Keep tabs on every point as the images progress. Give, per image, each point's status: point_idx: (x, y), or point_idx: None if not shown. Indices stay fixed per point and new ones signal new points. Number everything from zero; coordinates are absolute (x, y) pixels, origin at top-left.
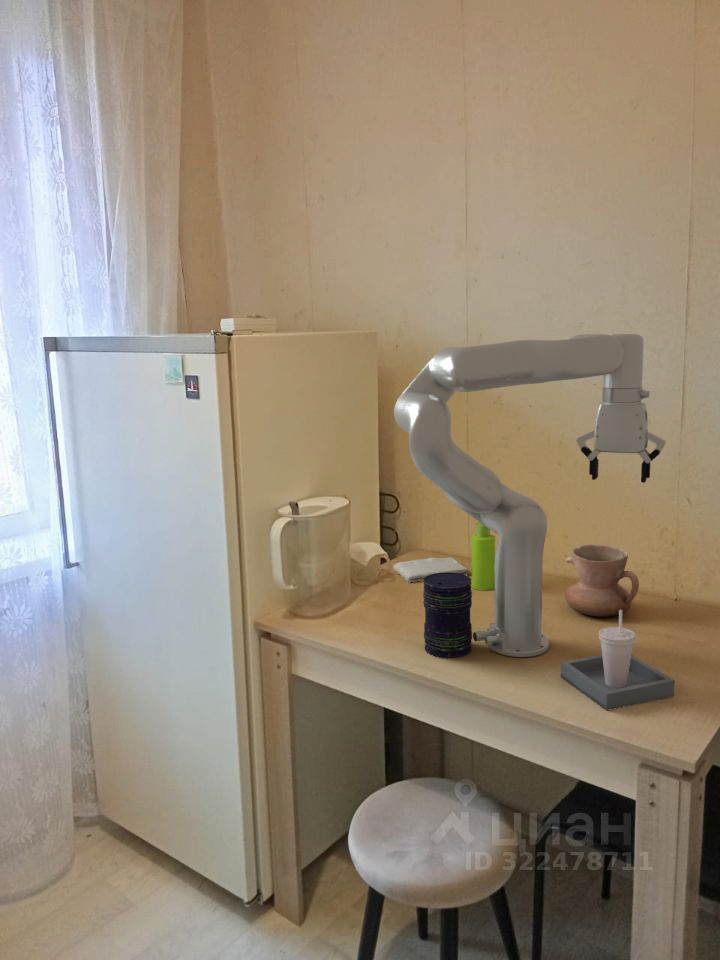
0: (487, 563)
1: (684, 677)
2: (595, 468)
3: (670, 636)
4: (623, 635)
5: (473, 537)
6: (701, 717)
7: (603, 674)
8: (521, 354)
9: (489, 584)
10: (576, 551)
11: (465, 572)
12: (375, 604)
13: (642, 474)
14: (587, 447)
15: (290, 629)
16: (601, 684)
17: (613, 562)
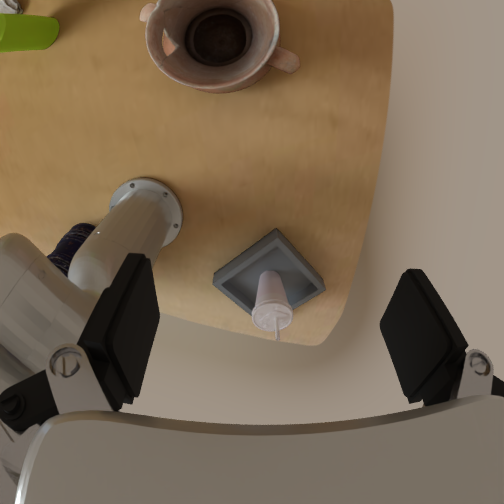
0: (26, 42)
1: (339, 238)
2: (145, 365)
3: (336, 121)
4: (279, 322)
5: None
6: (338, 303)
7: (256, 265)
8: None
9: (50, 40)
10: (155, 19)
11: (18, 9)
12: None
13: (393, 354)
14: (29, 429)
15: None
16: (256, 284)
17: (249, 77)
